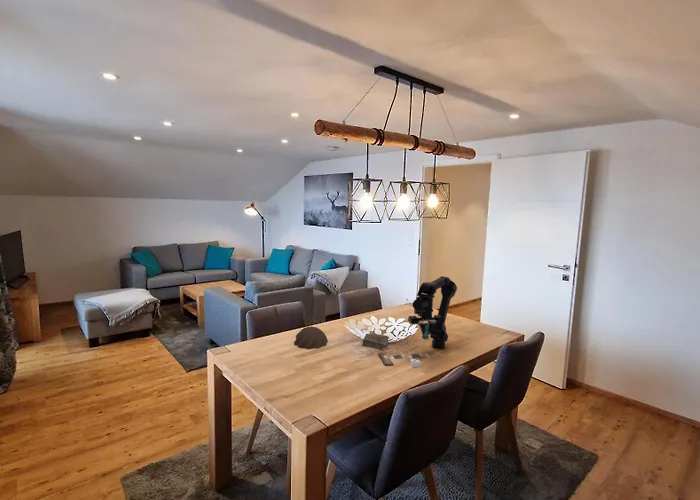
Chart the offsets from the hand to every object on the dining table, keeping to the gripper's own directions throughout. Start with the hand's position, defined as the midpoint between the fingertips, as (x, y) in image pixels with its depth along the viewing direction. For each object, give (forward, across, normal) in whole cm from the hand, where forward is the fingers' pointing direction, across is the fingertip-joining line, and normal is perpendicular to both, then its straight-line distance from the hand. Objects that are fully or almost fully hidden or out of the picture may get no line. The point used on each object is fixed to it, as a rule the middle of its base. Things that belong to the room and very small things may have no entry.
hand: (425, 334), depth 201 cm
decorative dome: (+13, +59, -29) cm, 67 cm away
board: (+13, +10, 0) cm, 16 cm away
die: (+13, +9, +11) cm, 19 cm away
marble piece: (+14, +22, -22) cm, 34 cm away
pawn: (+2, 0, 0) cm, 2 cm away
